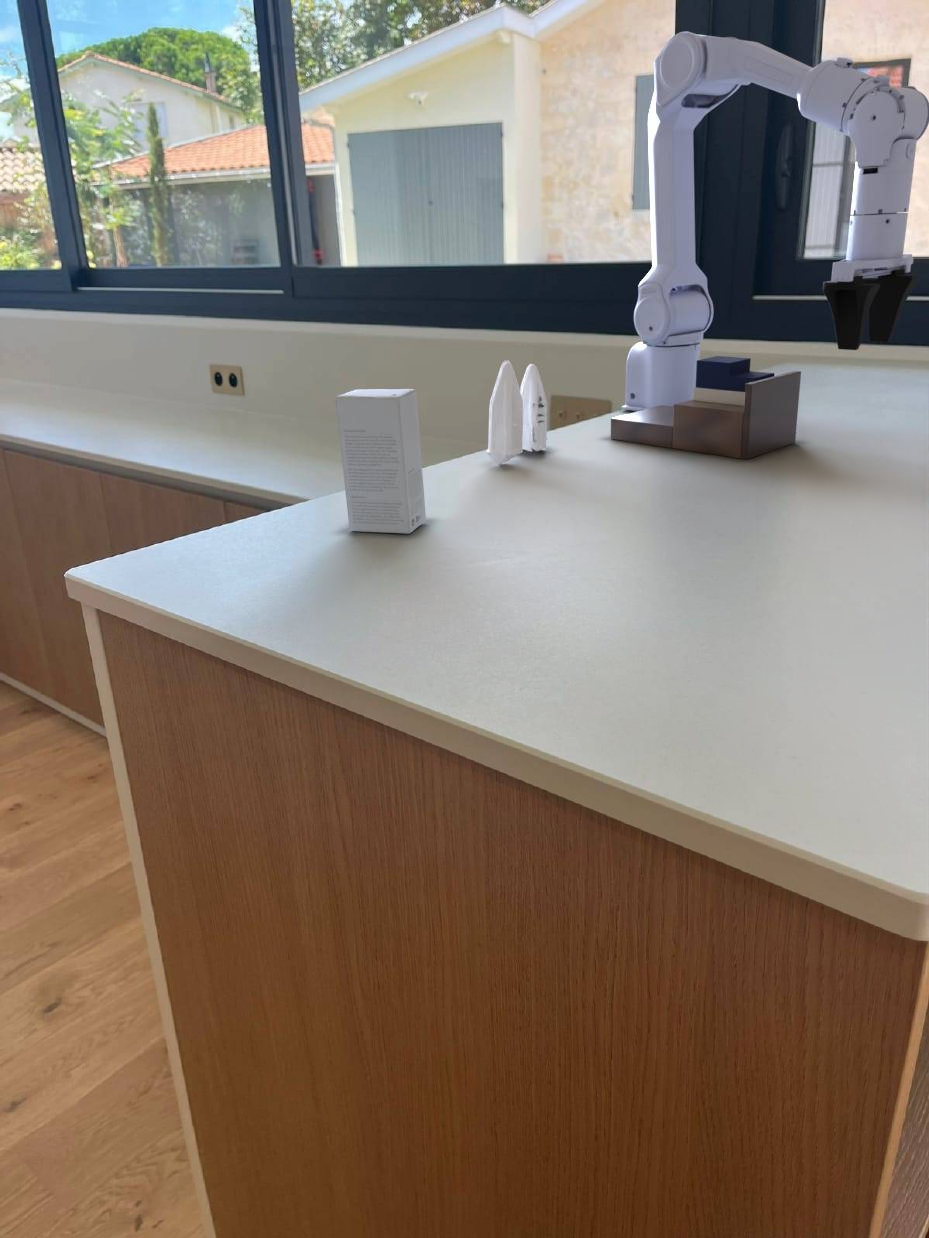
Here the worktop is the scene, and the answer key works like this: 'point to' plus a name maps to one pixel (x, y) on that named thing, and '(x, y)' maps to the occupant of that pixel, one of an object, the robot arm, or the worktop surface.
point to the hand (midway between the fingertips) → (864, 345)
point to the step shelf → (721, 421)
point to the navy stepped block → (724, 379)
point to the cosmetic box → (381, 459)
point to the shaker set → (516, 414)
